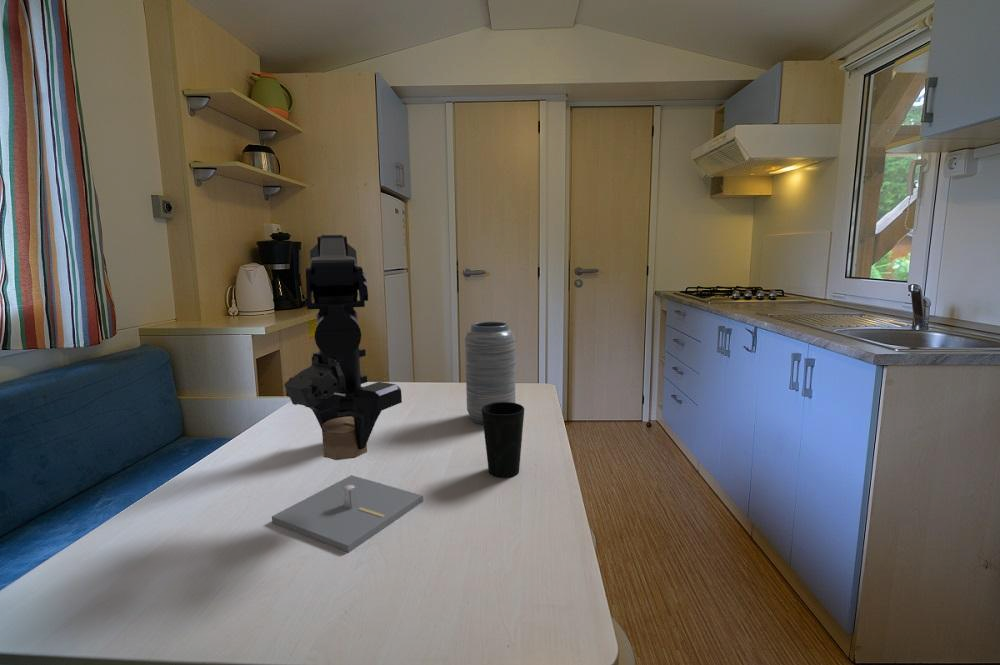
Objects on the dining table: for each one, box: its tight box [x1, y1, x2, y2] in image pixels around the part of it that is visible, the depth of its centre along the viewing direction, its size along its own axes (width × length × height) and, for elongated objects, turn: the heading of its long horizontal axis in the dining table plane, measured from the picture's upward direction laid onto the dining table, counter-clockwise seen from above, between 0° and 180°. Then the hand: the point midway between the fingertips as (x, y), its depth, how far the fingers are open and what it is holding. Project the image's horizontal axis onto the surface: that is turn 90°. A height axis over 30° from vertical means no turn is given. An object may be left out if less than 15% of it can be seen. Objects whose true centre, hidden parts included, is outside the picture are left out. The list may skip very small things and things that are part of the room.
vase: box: [464, 321, 517, 425], centre depth 120 cm, size 12×12×23 cm
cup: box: [482, 402, 525, 479], centre depth 92 cm, size 8×8×12 cm
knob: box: [321, 416, 368, 461], centre depth 77 cm, size 6×6×5 cm
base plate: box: [271, 475, 424, 553], centre depth 79 cm, size 16×16×4 cm
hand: (345, 444), depth 78 cm, fingers closed on knob, 6 cm apart
